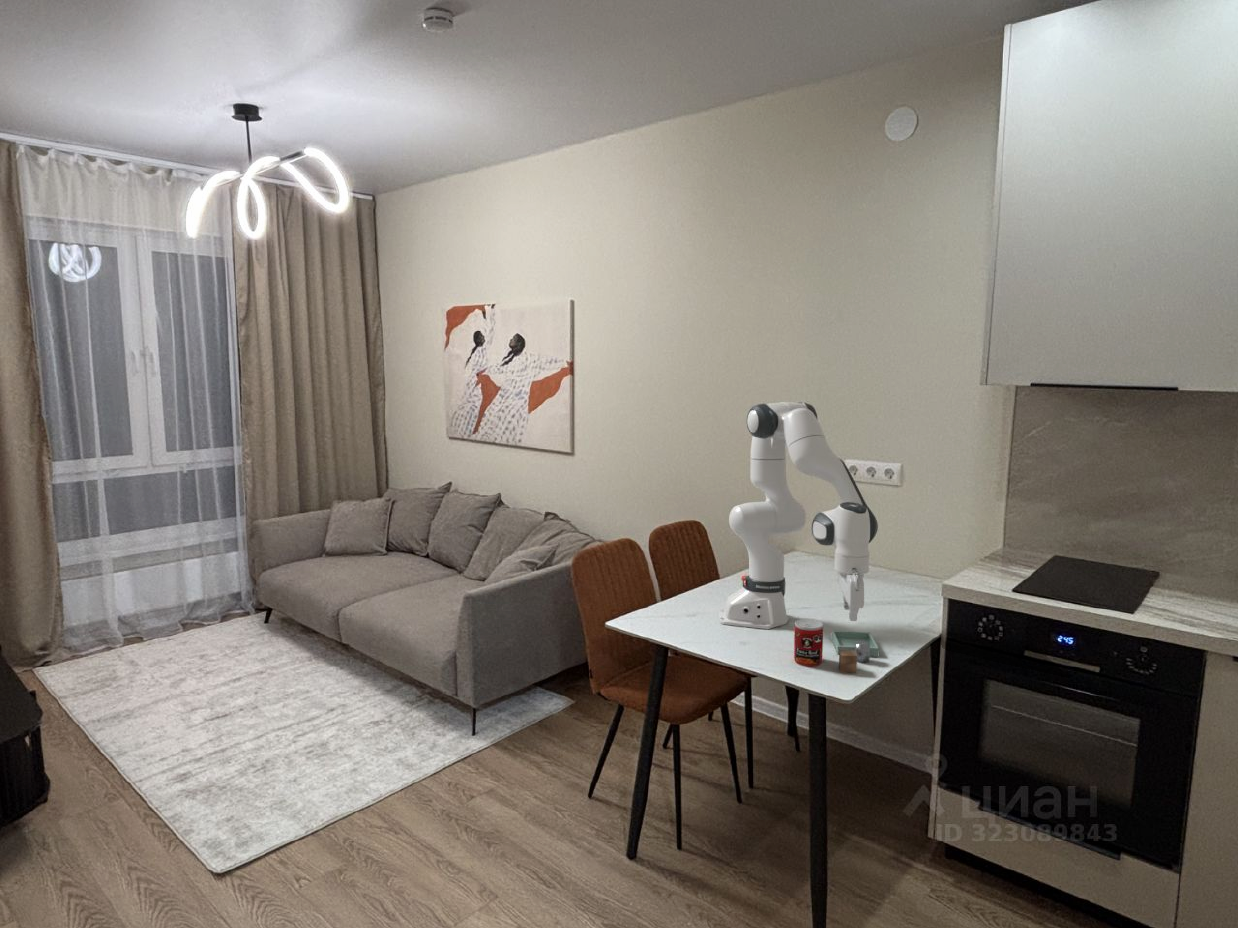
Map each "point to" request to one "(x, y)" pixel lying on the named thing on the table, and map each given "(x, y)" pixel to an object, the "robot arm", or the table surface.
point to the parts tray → (853, 641)
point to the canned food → (808, 642)
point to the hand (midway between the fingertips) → (850, 614)
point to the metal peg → (862, 651)
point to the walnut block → (847, 661)
